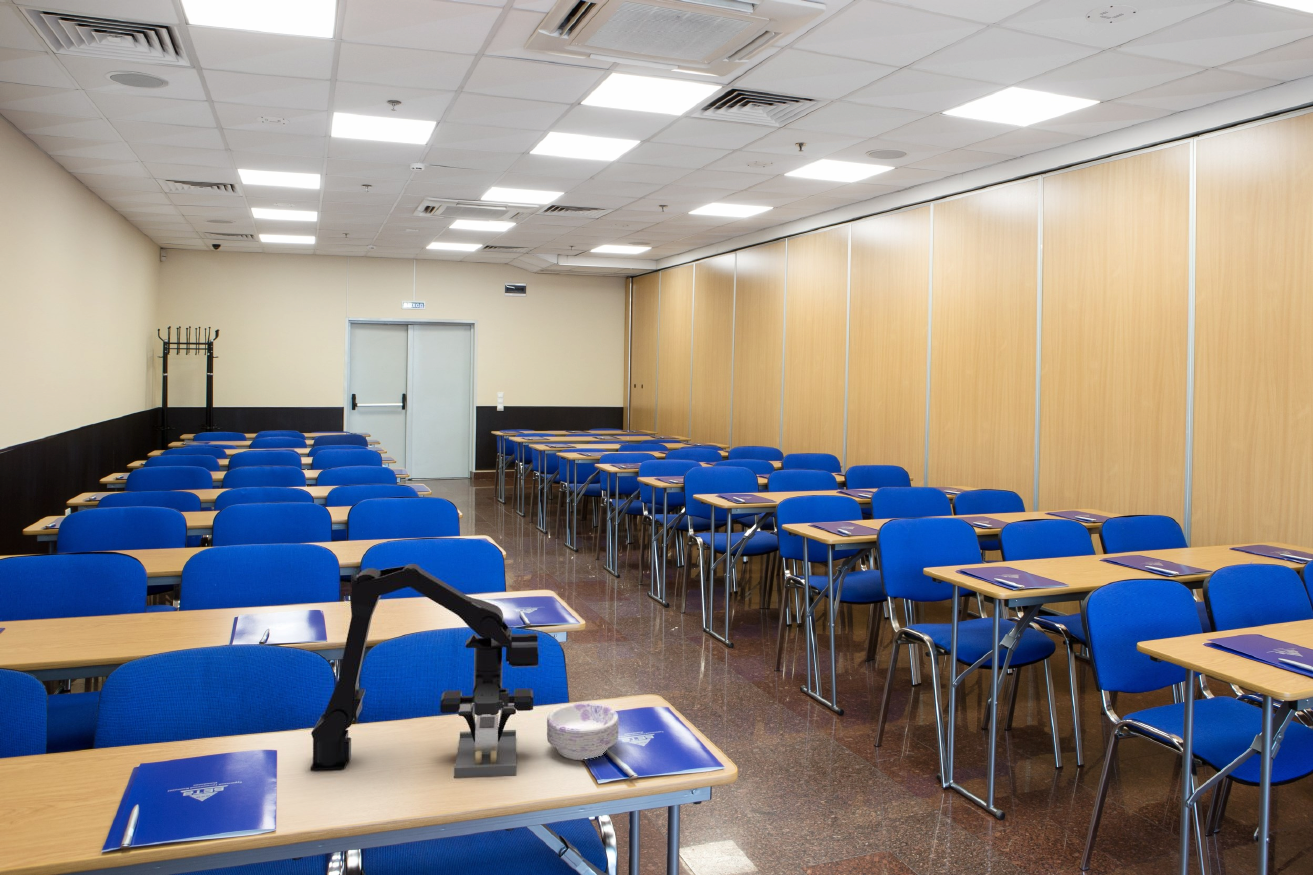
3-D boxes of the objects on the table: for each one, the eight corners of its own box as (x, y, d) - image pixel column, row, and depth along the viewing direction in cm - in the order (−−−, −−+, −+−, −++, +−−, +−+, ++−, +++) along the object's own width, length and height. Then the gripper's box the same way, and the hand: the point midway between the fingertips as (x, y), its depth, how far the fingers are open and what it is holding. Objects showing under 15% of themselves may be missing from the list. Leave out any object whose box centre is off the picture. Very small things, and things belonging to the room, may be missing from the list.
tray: (454, 777, 169) (454, 760, 169) (459, 740, 187) (460, 724, 187) (515, 775, 171) (516, 758, 171) (515, 738, 189) (516, 723, 189)
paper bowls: (535, 761, 178) (536, 724, 177) (560, 733, 193) (561, 698, 192) (606, 771, 174) (607, 733, 174) (626, 742, 189) (627, 706, 189)
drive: (474, 754, 175) (475, 729, 174) (476, 738, 183) (477, 714, 182) (497, 753, 175) (497, 728, 175) (498, 737, 183) (498, 714, 183)
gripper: (438, 681, 169) (437, 759, 169) (534, 679, 172) (532, 755, 173) (443, 663, 180) (441, 736, 180) (533, 661, 183) (531, 733, 184)
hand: (486, 740), depth 179 cm, fingers closed on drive, 4 cm apart
